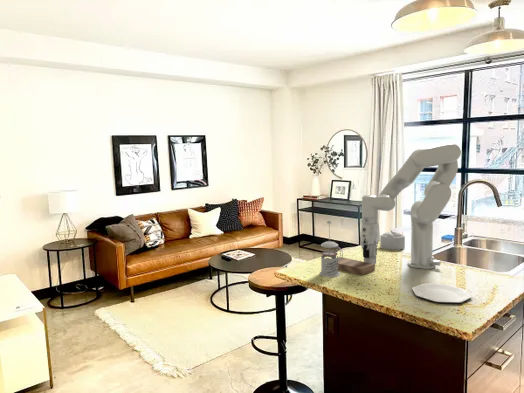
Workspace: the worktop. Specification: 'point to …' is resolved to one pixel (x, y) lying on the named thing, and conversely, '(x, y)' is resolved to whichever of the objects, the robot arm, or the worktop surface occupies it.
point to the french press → (326, 267)
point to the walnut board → (355, 266)
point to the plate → (441, 293)
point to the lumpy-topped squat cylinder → (392, 241)
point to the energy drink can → (371, 253)
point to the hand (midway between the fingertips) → (369, 255)
